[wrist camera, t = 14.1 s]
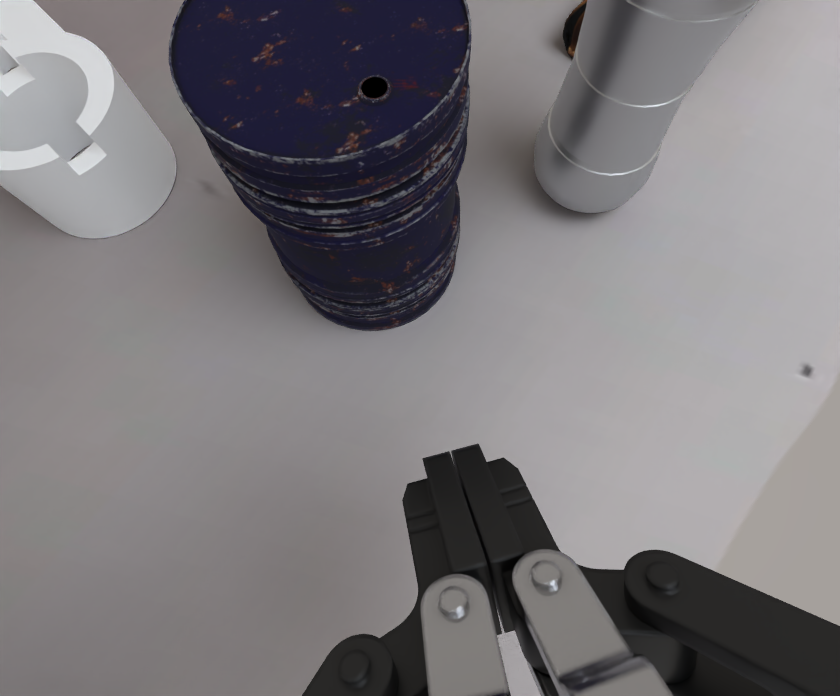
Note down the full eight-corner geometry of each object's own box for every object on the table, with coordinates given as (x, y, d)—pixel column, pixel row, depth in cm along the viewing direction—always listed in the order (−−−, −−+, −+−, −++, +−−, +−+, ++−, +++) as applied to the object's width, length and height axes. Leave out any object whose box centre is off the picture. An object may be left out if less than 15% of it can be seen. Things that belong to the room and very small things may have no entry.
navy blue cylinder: (259, 244, 31) (108, 20, 17) (387, 154, 33) (349, -120, 18) (358, 367, 29) (280, 227, 14) (492, 263, 30) (541, 45, 16)
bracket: (203, 176, 33) (147, 95, 26) (88, 265, 31) (-2, 202, 25) (35, 9, 37) (-47, -94, 31) (-72, 79, 36) (-183, -14, 29)
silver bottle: (574, 117, 33) (763, -415, 14) (659, 182, 32) (1000, -318, 12) (504, 178, 32) (606, -313, 13) (588, 249, 30) (846, -192, 11)
